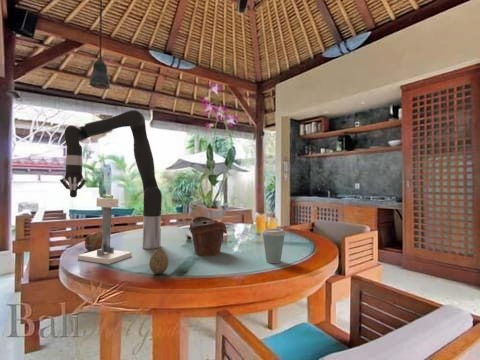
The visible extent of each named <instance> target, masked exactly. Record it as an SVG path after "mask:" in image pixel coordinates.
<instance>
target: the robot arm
mask: <svg viewBox="0 0 480 360" xmlns="http://www.w3.org/2000/svg"><path fill="white" fill-rule="evenodd" d="M145 119H146V118H145V116H144V115H143V113H141V112H140V111H139V110H138V109H129V110H127V111H124V112H122V113H120V114H117V115H115V116H111V117H108V118H104V119H100V120H99V119H98V120H95V121H91V122H87V123H85V124H84V125H82V126H77V125H68V126H66V127H65V130H64V133H63V135H64V140H65V145H66V158H65V174H64V177H63V178H61V179H59V182H60V183H61V184H62V185H63V186H64V188H65V189H66V190H69V196H70V198H76V197H77V196H78V190H81V189H82V188H83V187H84V186H85V185H86V184H87V182H88V179H85V178H84V176H83V147H82V146H81V144H80V141H84V140H86V139H89V138H90V137H93V136H99V135H102V134H106V133H109V132H111V131H113V130H115V129H119V128H127V127H129V128H130V130H131V134H132V137H133V156H134V159H135V164H136V166H137V170H138V173H139V176H140V178H141V181H142V183H141V184H142V188H143V189H142V190H143V211H142V213H143V214H142V216H143V219H142V249H145V250H146V249H147V250H152V249H159V248H160V249H161V246H162V245H161V244H162V241H161V240H162V228H161V227H162V226H161V225H162V224H161V223H162V218H161V217H162V205H163V204H162V203H163V200H162V197H163V196H162V190H161V189H160V188H159V185H158V183H157V180H156V173H155V162H154V156H153V153H152V148H151V145H150V141H149V139H148V135H147V128H146V121H145Z"/></svg>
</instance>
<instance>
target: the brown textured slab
mask: <svg viewBox="0 0 480 360" xmlns="http://www.w3.org/2000/svg"><path fill="white" fill-rule="evenodd" d="M84 247H85V249H86V251H95V250H98V249H101V247H102V231H95V232H92V233H89V234H88V235H86V237H85V240H84Z"/></svg>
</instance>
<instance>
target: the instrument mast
mask: <svg viewBox="0 0 480 360" xmlns="http://www.w3.org/2000/svg"><path fill="white" fill-rule="evenodd" d="M95 204H96V208H99V207H100V208H102V220H101V222H102V225H101V228H102V229H101V232H102V246H101V247H100V249H101V250H104V253H105V252H110V247H111V235H112V234H111V232H112V228H111V227H112V208H119V197H114V195H111V194H103V195H102V196H101V197H96V203H95Z"/></svg>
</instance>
